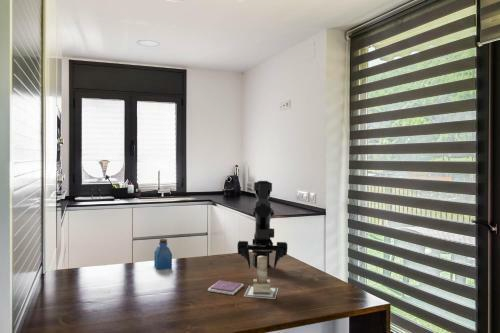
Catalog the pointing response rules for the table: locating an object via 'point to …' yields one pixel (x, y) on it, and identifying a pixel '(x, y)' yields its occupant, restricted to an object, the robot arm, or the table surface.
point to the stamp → (261, 277)
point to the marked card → (250, 294)
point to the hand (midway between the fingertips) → (262, 268)
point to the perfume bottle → (163, 256)
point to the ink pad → (226, 287)
